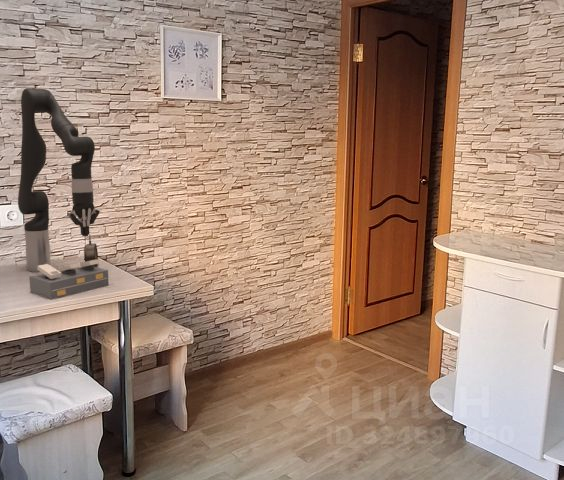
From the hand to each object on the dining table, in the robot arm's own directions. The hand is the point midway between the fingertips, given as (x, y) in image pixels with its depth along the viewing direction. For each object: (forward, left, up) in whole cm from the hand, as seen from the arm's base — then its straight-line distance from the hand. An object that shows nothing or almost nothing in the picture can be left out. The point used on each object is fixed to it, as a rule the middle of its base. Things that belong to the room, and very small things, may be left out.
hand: (85, 235), depth 222 cm
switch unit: (0, -8, -19) cm, 21 cm away
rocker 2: (0, -8, -11) cm, 13 cm away
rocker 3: (0, 0, -11) cm, 11 cm away
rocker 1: (0, -16, -11) cm, 19 cm away
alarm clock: (-16, +12, -19) cm, 28 cm away
